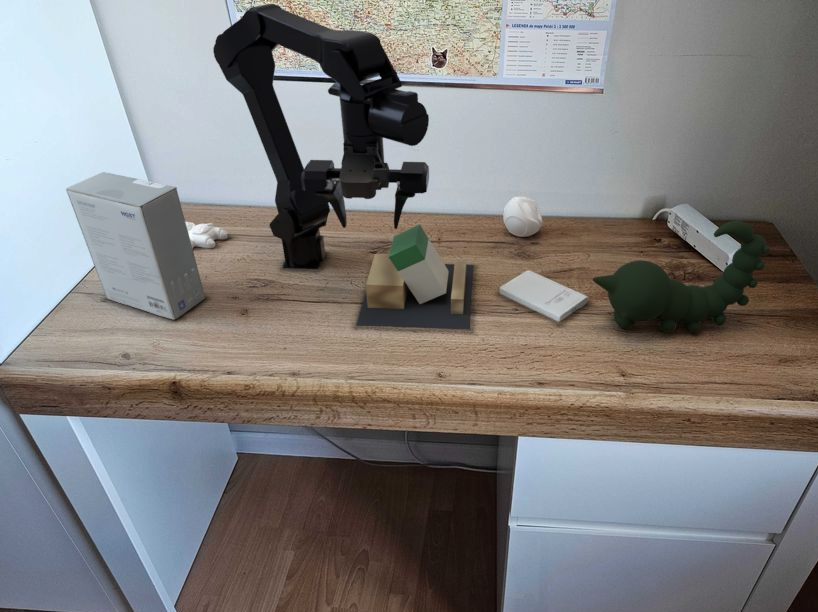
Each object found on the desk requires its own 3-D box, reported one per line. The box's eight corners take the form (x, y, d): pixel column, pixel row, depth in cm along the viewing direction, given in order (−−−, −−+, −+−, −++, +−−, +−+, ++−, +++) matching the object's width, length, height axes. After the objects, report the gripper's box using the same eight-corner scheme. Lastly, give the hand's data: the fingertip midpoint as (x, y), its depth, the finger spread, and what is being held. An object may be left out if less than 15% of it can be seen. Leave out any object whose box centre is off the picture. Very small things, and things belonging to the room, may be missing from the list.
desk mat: (356, 327, 106) (356, 325, 106) (375, 263, 122) (374, 261, 122) (469, 331, 105) (469, 329, 105) (473, 266, 121) (473, 264, 121)
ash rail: (450, 314, 108) (450, 298, 106) (454, 275, 118) (454, 260, 116) (463, 314, 108) (463, 299, 106) (466, 276, 118) (466, 261, 116)
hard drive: (528, 277, 118) (587, 303, 112) (498, 295, 113) (558, 324, 107) (529, 269, 117) (588, 295, 111) (499, 287, 112) (559, 315, 106)
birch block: (367, 307, 110) (365, 284, 107) (376, 276, 118) (374, 253, 115) (404, 309, 109) (402, 285, 107) (410, 277, 117) (409, 254, 114)
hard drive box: (208, 298, 112) (179, 187, 100) (175, 322, 107) (140, 207, 95) (138, 278, 118) (103, 169, 105) (104, 299, 112) (62, 187, 100)
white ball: (542, 244, 128) (546, 207, 123) (503, 244, 128) (505, 206, 123) (538, 225, 134) (542, 189, 129) (501, 225, 134) (503, 188, 129)
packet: (391, 303, 111) (387, 244, 104) (396, 281, 116) (393, 223, 109) (446, 305, 110) (445, 245, 103) (448, 282, 116) (448, 224, 109)
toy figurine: (718, 313, 112) (574, 307, 109) (760, 209, 101) (601, 200, 98) (742, 346, 105) (588, 341, 102) (790, 239, 93) (618, 230, 91)
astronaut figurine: (204, 255, 124) (200, 240, 122) (154, 242, 128) (150, 228, 126) (234, 235, 130) (231, 220, 128) (186, 223, 134) (182, 209, 132)
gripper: (285, 149, 91) (300, 250, 100) (421, 151, 90) (424, 253, 99) (303, 121, 100) (316, 217, 109) (428, 123, 99) (430, 220, 108)
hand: (370, 227), depth 106 cm, fingers open, 8 cm apart
